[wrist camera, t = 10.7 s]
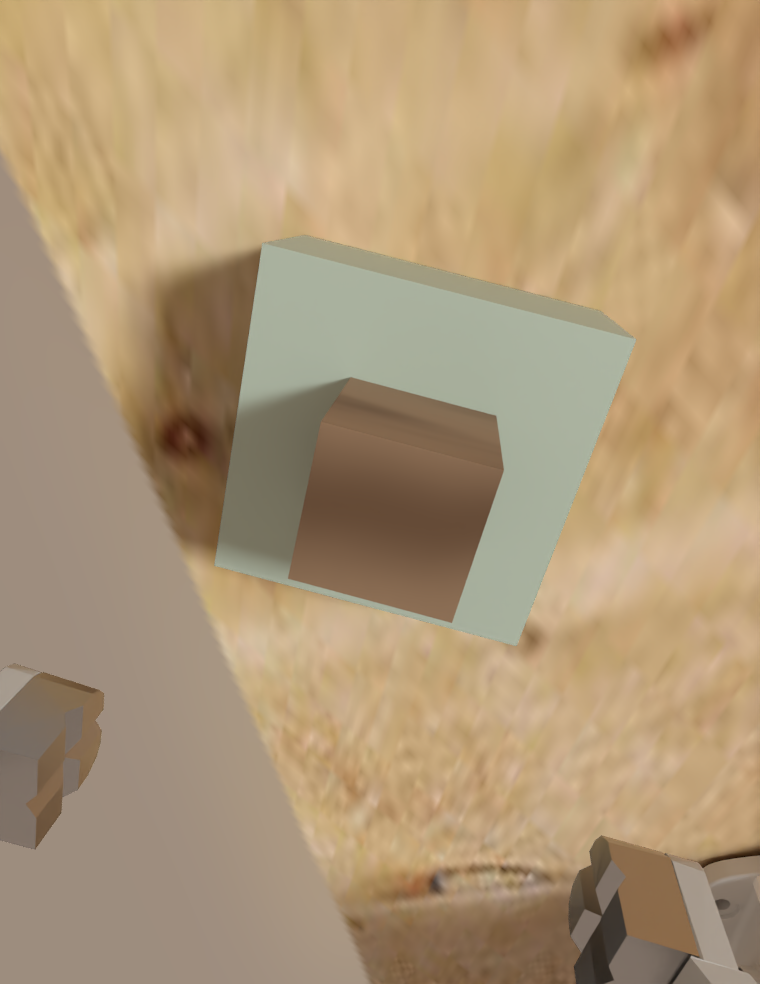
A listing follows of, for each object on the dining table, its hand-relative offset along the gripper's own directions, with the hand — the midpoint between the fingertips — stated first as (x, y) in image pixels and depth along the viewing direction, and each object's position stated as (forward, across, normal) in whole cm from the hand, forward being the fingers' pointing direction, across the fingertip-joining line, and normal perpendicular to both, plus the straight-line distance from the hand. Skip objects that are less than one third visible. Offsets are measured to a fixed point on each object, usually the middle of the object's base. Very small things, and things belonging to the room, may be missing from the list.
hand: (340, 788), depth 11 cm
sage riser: (+20, +1, 0) cm, 20 cm away
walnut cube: (+14, +1, 0) cm, 14 cm away
